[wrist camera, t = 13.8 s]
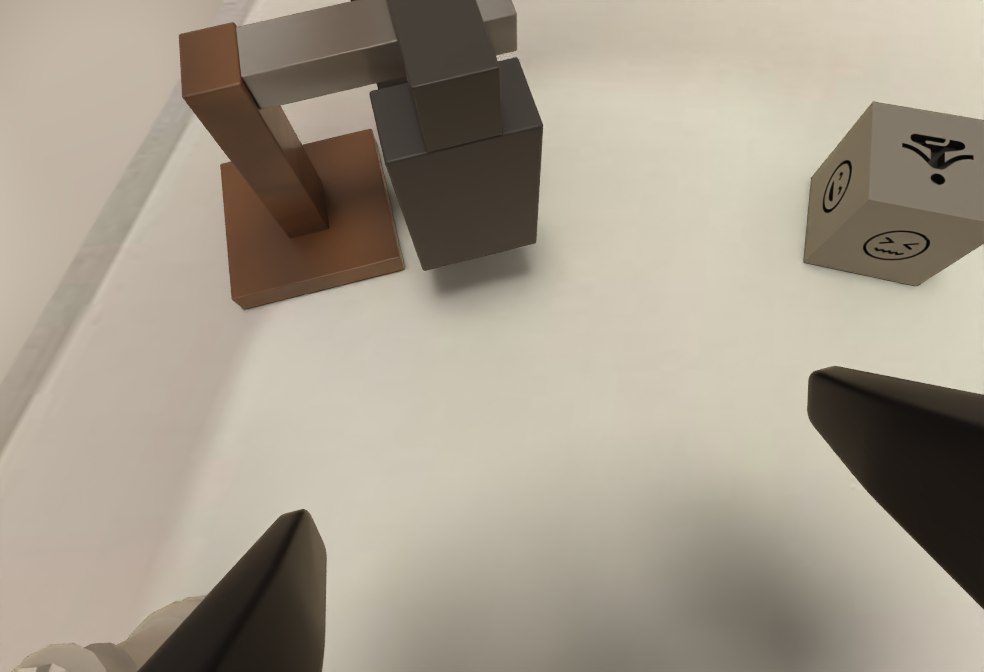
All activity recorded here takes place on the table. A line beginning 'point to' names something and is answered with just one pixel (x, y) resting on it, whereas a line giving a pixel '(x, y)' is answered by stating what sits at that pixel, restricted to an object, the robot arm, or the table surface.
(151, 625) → the rook chess piece
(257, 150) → the hanger
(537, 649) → the table surface
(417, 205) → the dark blocky bridge
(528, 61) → the table surface
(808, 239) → the dice cube
